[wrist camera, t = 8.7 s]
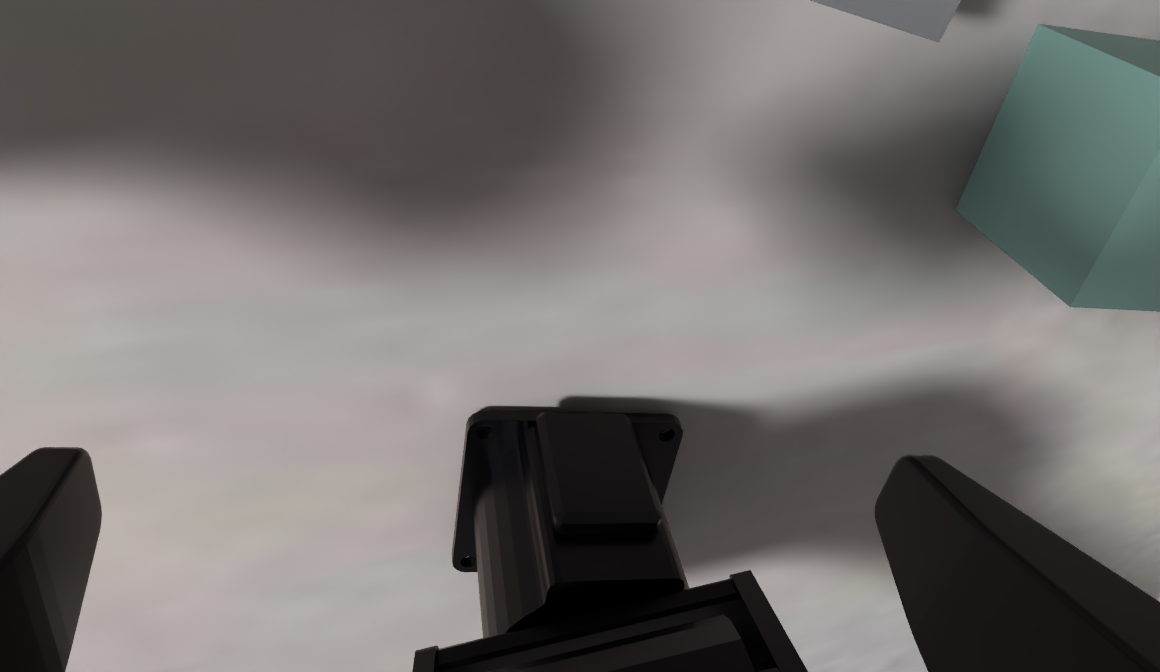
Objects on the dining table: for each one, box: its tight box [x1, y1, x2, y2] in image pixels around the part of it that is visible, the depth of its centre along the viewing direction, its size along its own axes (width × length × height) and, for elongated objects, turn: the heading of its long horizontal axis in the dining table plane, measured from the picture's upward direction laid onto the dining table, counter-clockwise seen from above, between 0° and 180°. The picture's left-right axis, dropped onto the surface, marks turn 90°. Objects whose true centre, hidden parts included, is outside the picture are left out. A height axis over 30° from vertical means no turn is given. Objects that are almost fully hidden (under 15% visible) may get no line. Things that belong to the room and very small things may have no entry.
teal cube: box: [955, 24, 1160, 311], centre depth 20 cm, size 5×5×5 cm
